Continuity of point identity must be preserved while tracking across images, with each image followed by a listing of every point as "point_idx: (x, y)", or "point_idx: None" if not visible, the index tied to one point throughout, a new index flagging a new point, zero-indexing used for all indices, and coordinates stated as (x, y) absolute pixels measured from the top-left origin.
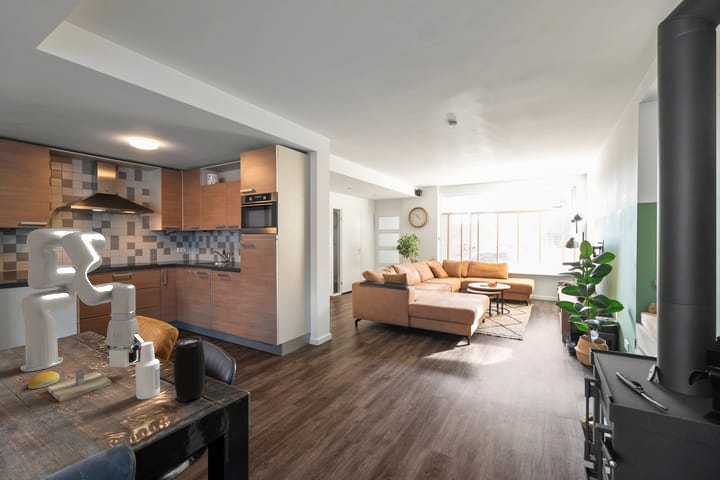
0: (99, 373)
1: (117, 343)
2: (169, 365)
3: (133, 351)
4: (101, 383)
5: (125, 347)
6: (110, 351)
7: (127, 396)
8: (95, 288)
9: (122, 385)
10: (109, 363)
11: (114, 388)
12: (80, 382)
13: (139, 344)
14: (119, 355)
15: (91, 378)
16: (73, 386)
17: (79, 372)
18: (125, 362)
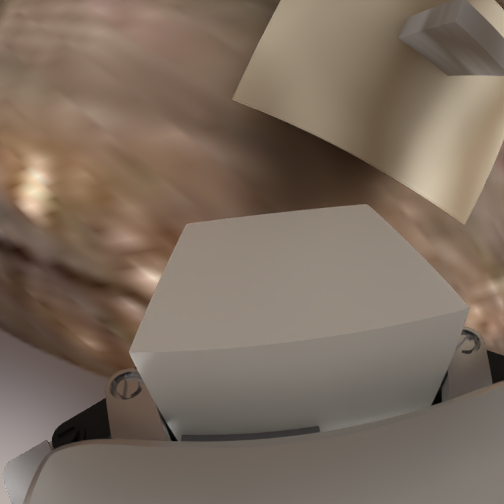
0: (434, 201)
1: (358, 497)
2: None
3: (111, 386)
4: (263, 43)
5: None
6: (441, 302)
7: (2, 40)
8: None
9: (133, 109)
10: (379, 217)
11: (149, 61)
12: (414, 21)
13: (34, 463)
14: (256, 288)
15: (425, 122)
16: (425, 8)
17: (468, 9)
18: (175, 248)
